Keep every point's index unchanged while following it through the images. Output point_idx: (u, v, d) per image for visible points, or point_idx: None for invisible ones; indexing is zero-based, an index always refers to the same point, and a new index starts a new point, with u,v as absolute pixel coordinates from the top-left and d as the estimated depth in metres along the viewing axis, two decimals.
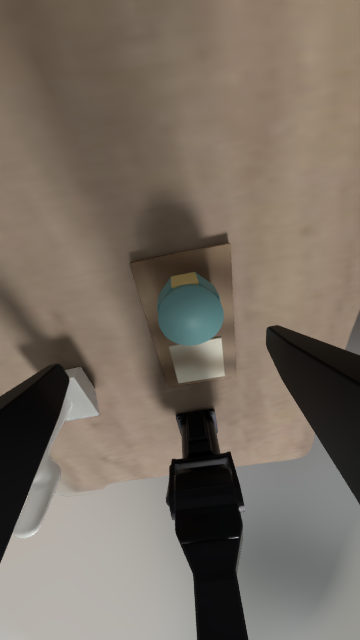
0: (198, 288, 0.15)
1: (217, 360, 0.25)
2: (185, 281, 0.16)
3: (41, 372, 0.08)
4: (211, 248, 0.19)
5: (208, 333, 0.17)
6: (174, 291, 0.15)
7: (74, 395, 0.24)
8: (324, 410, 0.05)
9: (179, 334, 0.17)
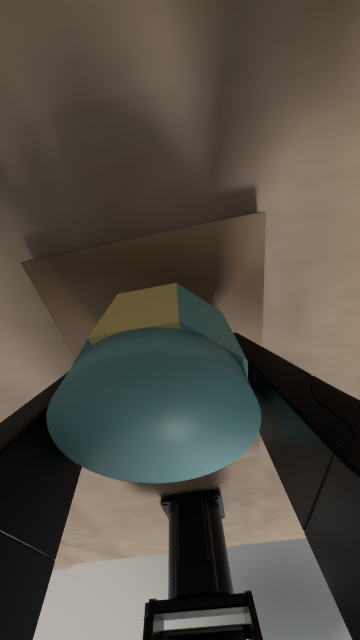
0: (174, 353, 0.04)
1: None
2: (140, 315, 0.05)
3: None
4: (219, 223, 0.07)
5: (212, 461, 0.06)
6: (88, 360, 0.04)
7: None
8: (265, 418, 0.05)
9: (129, 465, 0.06)
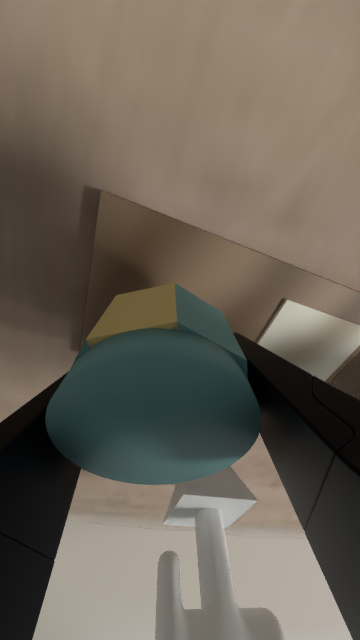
0: (172, 354, 0.04)
1: (327, 327, 0.12)
2: (138, 316, 0.05)
3: None
4: (96, 233, 0.09)
5: (213, 462, 0.06)
6: (86, 362, 0.04)
7: (208, 502, 0.18)
8: (266, 418, 0.05)
9: (129, 467, 0.06)
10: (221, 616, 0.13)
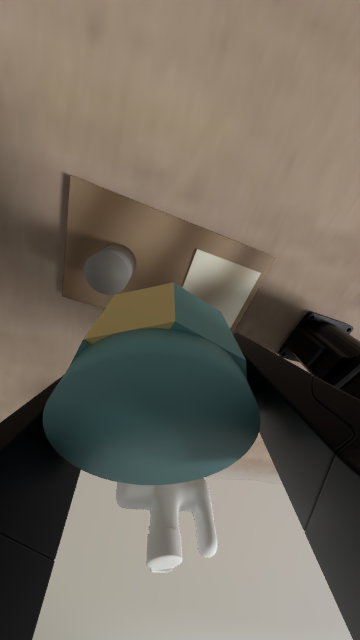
0: (170, 354, 0.04)
1: (228, 270, 0.18)
2: (137, 316, 0.05)
3: None
4: (69, 202, 0.15)
5: (211, 462, 0.06)
6: (83, 362, 0.04)
7: None
8: (265, 418, 0.05)
9: (127, 467, 0.06)
10: None
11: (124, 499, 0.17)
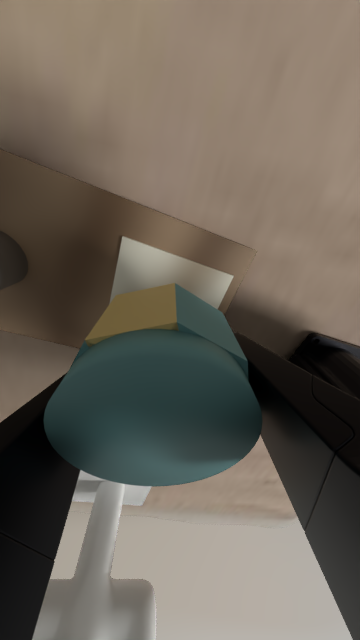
0: (172, 355, 0.04)
1: (180, 271, 0.11)
2: (138, 317, 0.05)
3: None
4: None
5: (213, 464, 0.06)
6: (84, 363, 0.04)
7: None
8: (266, 418, 0.05)
9: (129, 469, 0.06)
10: (83, 585, 0.12)
11: None
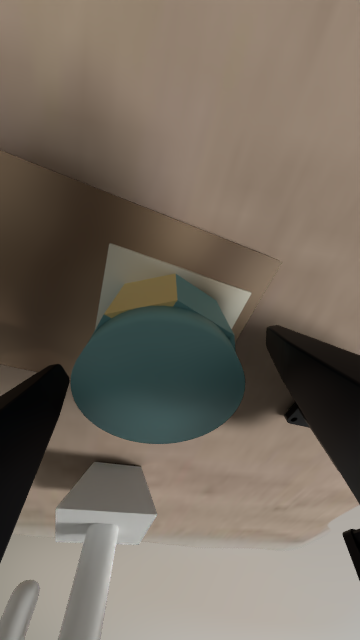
0: (174, 322, 0.05)
1: None
2: (146, 298, 0.06)
3: (41, 372, 0.08)
4: None
5: (205, 422, 0.07)
6: (106, 329, 0.05)
7: (95, 517, 0.14)
8: (324, 410, 0.05)
9: (136, 425, 0.07)
10: None
11: None
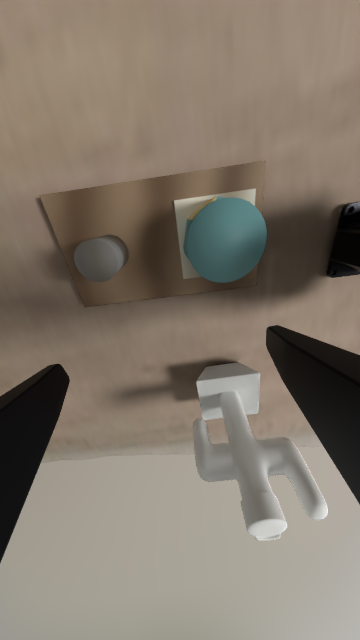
0: (219, 199, 0.12)
1: None
2: (202, 207, 0.14)
3: (41, 372, 0.08)
4: (50, 220, 0.16)
5: (254, 253, 0.14)
6: (194, 219, 0.13)
7: (221, 386, 0.22)
8: (324, 410, 0.05)
9: (221, 269, 0.14)
10: (238, 440, 0.18)
11: (205, 472, 0.17)
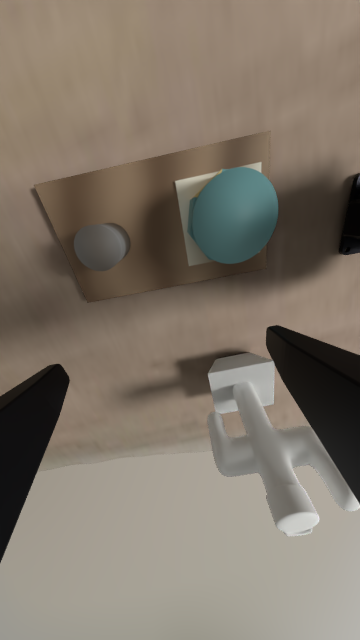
0: (225, 171, 0.11)
1: None
2: None
3: (41, 372, 0.08)
4: (46, 211, 0.16)
5: (265, 228, 0.13)
6: (199, 195, 0.12)
7: (233, 377, 0.21)
8: (324, 410, 0.05)
9: (230, 249, 0.13)
10: (257, 432, 0.17)
11: (225, 467, 0.16)
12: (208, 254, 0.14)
